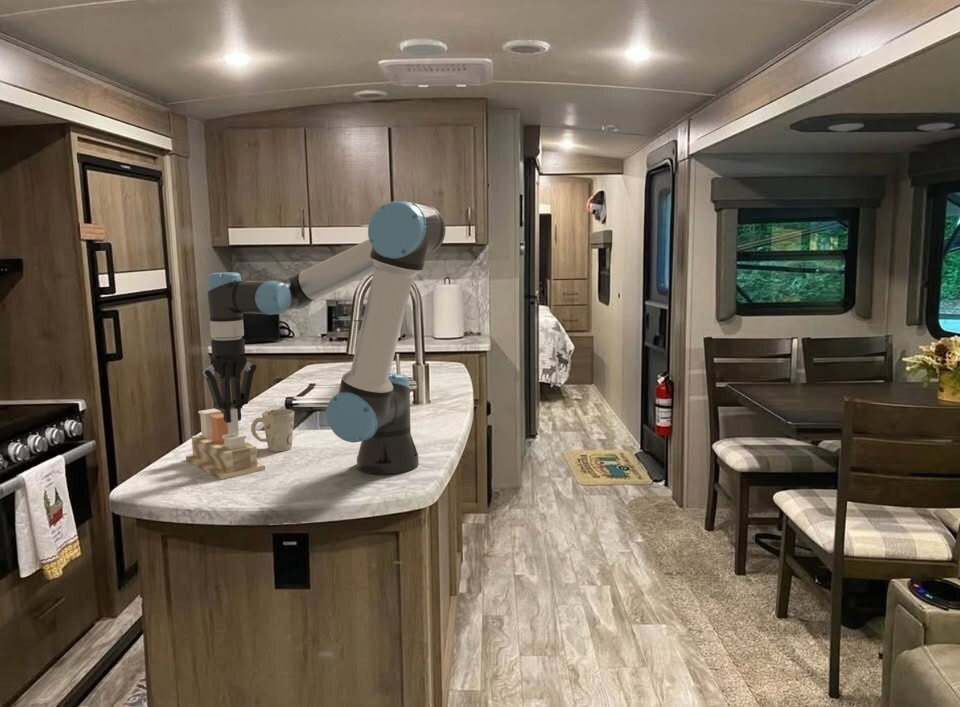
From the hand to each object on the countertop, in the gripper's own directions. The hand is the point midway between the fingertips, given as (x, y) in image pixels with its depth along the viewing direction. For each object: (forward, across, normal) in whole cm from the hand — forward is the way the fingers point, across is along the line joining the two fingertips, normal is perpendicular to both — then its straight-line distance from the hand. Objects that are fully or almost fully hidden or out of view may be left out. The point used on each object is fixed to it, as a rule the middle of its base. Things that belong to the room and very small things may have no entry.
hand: (233, 434), depth 180 cm
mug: (+9, -16, -12) cm, 22 cm away
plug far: (+4, 0, -14) cm, 14 cm away
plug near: (+8, 0, 0) cm, 8 cm away
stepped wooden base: (+9, 0, -7) cm, 11 cm away
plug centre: (+4, 0, -7) cm, 8 cm away
